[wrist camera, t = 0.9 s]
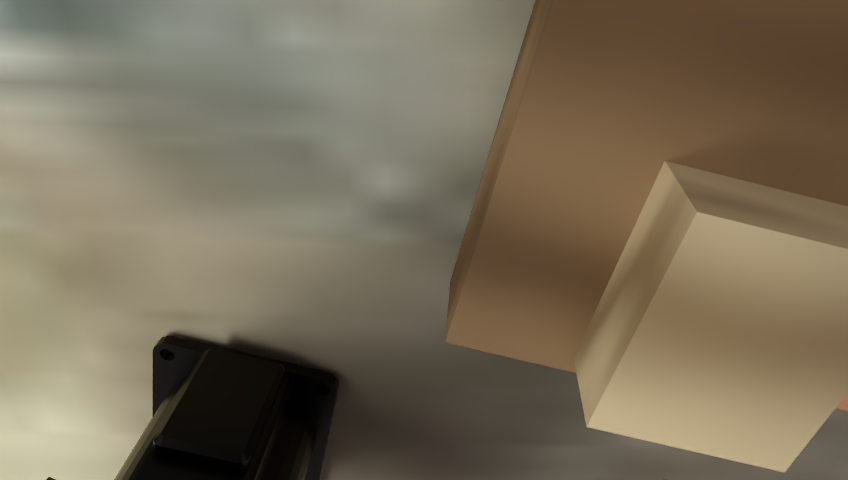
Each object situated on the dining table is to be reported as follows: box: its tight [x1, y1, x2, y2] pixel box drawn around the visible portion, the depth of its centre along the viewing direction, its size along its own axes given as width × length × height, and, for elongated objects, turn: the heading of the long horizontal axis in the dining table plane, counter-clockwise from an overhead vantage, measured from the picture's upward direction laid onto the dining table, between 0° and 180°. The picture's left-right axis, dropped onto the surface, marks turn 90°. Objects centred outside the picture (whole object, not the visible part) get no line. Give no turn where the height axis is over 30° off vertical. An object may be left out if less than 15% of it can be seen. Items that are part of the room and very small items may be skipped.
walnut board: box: [445, 0, 848, 373], centre depth 14 cm, size 18×10×3 cm, turn 167°
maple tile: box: [574, 161, 848, 472], centre depth 15 cm, size 6×5×2 cm
